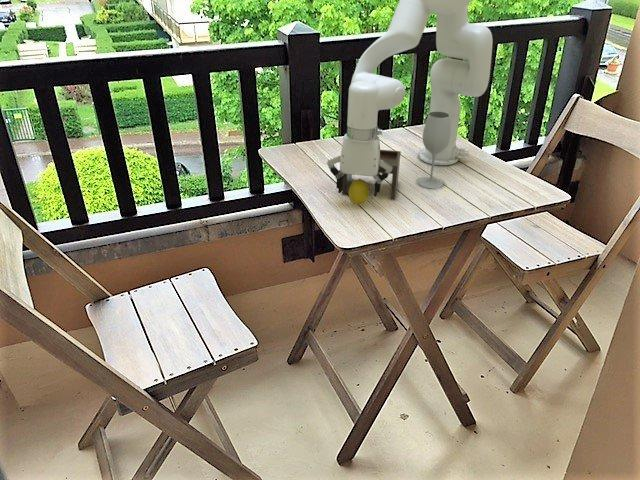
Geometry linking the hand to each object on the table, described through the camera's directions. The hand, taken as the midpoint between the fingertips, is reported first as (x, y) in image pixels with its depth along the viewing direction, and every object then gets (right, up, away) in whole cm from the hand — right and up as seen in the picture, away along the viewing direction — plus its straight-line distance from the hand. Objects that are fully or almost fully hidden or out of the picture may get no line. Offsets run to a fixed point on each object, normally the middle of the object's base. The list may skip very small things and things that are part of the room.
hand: (357, 192), depth 143 cm
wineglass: (+23, +4, +15) cm, 27 cm away
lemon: (0, -3, +3) cm, 4 cm away
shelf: (+5, +2, +11) cm, 12 cm away
